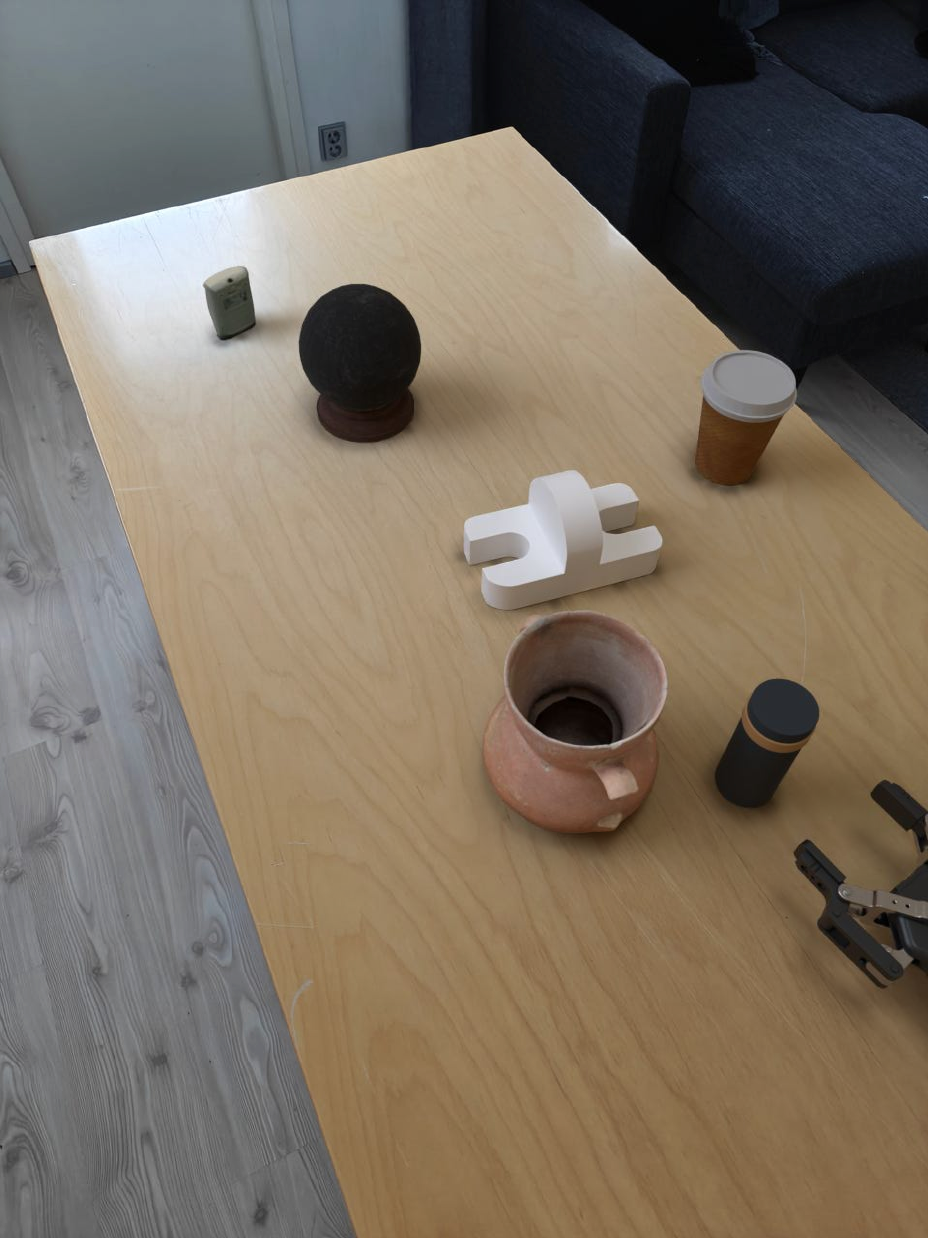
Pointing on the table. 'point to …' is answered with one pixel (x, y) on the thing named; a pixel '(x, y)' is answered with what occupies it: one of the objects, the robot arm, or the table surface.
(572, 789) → the ceramic jug
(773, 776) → the dark cylindrical canister
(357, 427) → the ball on stand
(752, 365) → the disposable coffee cup
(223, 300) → the grey rounded block
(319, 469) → the table surface
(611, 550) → the u-slot mount
